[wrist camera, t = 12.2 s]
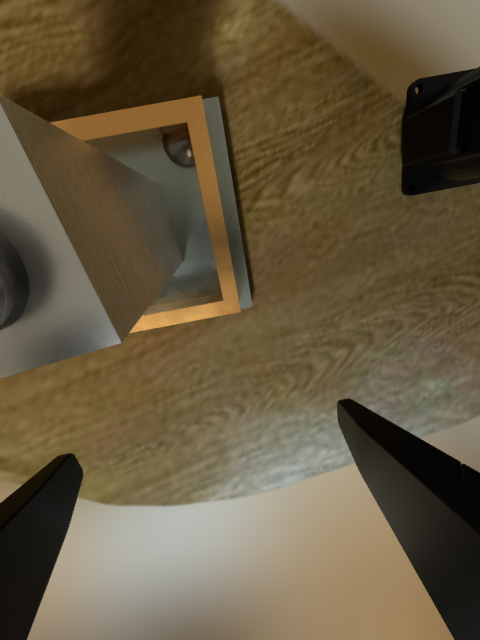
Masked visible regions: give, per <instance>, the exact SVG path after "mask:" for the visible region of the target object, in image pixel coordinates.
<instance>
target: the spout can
mask: <svg viewBox="0 0 480 640" xmlns="http://www.w3.org/2000/svg"><path fill="white" fill-rule="evenodd" d="M183 261H184V258H183V256H182V253H181V250H180V247H179V244H178V242H177V239H176V236H175V233H174V230H173V228H172V225H171V222H170V219H169V216H168V214H167V211H166V208H165V205H164V202H163V199H162V197H161V194H160V191H159V188H158V185H157V183H156V182H155V181H153V180H151V179H149V178H148V177H146V176H144V175H142V174H140V173H139V172H137V171H135V170H133V169H132V168H130V167H128V166H126V165H124V164H123V163H121V162H119V161H117V160H115V159H114V158H112V157H110V156H108V155H107V154H105V153H103V152H101V151H99V150H98V149H96V148H94V147H92V146H91V145H89V144H87V143H85V142H83V141H82V140H80V139H78V138H76V137H74V136H73V135H71V134H69V133H67V132H66V131H64V130H62V129H60V128H58V127H57V126H55V125H53V124H51V123H50V122H48V121H46V120H44V119H42V118H41V117H39V116H37V115H35V114H33V113H32V112H30V111H28V110H26V109H25V108H23V107H21V106H19V105H17V104H16V103H14V102H12V101H10V100H8V99H7V98H5V97H3V96H1V95H0V378H3V377H6V376H10V375H13V374H17V373H20V372H24V371H27V370H30V369H34V368H37V367H41V366H44V365H48V364H51V363H54V362H58V361H61V360H65V359H68V358H72V357H75V356H78V355H82V354H85V353H89V352H92V351H96V350H99V349H103V348H106V347H109V346H113V345H116V344H120V343H122V342H123V340H124V339H125V338H126V336H127V335H128V334H129V332H130V331H131V330H132V328H133V327H134V326H135V324H136V323H137V322H138V321H139V319H140V318H141V317H142V315H143V314H144V313H145V311H146V310H147V309H148V307H149V306H150V305H151V303H152V302H153V301H154V299H155V298H156V297H157V295H158V294H159V293H160V291H161V290H162V289H163V287H164V286H165V285H166V283H167V282H168V281H169V279H170V278H171V277H172V276H173V274H174V273H175V272H176V270H177V269H178V268H179V266H180V265H181V264H182V262H183Z"/></svg>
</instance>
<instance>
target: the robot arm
mask: <svg viewBox="0 0 480 640" xmlns="http://www.w3.org/2000/svg"><path fill="white" fill-rule="evenodd" d="M415 87H417V88H418V90H419V91H418V94H416V92H415ZM402 164H403V174H402V193H403V194H404V195H405V196H410V195H416V194H422V193H427V192H433V191H438V190H443V189H449V188H454V187H460V186H465V185H470V184H476V183H480V67H478V68H476V69H471V70H466V71H460V72H454V73H449V74H443V75H437V76H432V77H427V78H421V79H418V80H416V81H415V82H413V83H412V84H411V85H410V86H409V88H408V90H407V98H406V117H405V121H404V134H403V154H402ZM410 185H412V190H411V191H410V190H409V186H410ZM337 414H338V423H339V426H340V429H341V431H342V433H343V435H344V438H345V440H346V442H347V445H348V447H349V449H350V451H351V454H352V456H353V458H354V461H355V463H356V465H357V467H358V469H359V471H360V473H361V475H362V477H363V479H364V480H365V482H366V484H367V486H368V488H369V489H370V491H371V493H372V495H373V497H374V498H375V500H376V502H377V504H378V505H379V507H380V509H381V511H382V512H383V514H384V516H385V518H386V520H387V521H388V523H389V525H390V526H391V528H392V530H393V532H394V534H395V535H396V537H397V539H398V541H399V543H400V544H401V546H402V548H403V550H404V551H405V553H406V555H407V557H408V558H409V560H410V562H411V564H412V566H413V567H414V569H415V571H416V573H417V574H418V576H419V578H420V580H421V581H422V583H423V585H424V586H425V588H426V590H427V592H428V594H429V596H430V597H431V599H432V601H433V603H434V604H435V606H436V608H437V609H438V611H439V613H440V615H441V617H442V618H443V620H444V622H445V624H446V626H447V627H448V629H449V631H450V632H451V634H452V636H453V637H454V640H480V473H479V472H478V471H476V470H474V469H472V468H470V467H469V466H467V465H465V464H461V462H460V461H458V460H456V459H455V458H453V457H451V456H449V455H448V454H446V453H444V452H442V451H441V450H439V449H437V448H435V447H434V446H432V445H430V444H429V443H426V442H425V441H423V440H422V439H420V438H418V437H416V436H415V435H413V434H411V433H409V432H408V431H406V430H404V429H402V428H401V427H399V426H397V425H395V424H394V423H392V422H390V421H388V420H387V419H385V418H383V417H381V416H380V415H378V414H376V413H374V412H373V411H371V410H369V409H368V408H366V407H364V406H362V405H361V404H359V403H357V402H355V401H354V400H352V399H343V400H339V401H338V402H337ZM82 479H83V470H82V468H81V466H80V464H79V462H78V460H77V459H76V457H75V455H74V454H72V453H68V454H63V455H59V456H57V457H56V458H55V459H54V460H52V461H51V462H50V463H49V464H48V465H46V466H45V467H44V468H43V469H41V470H40V471H39V472H38V473H37V474H35V475H34V476H33V477H32V478H30V479H29V480H28V481H27V482H26V483H24V484H23V485H22V486H21V487H20V488H18V489H17V490H16V491H15V492H14V493H12V494H11V495H10V496H9V497H7V498H6V499H5V500H4V501H3V502H1V503H0V640H27V638H28V635H29V632H30V630H31V627H32V624H33V622H34V619H35V616H36V614H37V611H38V608H39V606H40V603H41V600H42V598H43V595H44V592H45V590H46V587H47V585H48V582H49V579H50V577H51V574H52V571H53V568H54V566H55V563H56V561H57V558H58V555H59V553H60V550H61V547H62V545H63V542H64V539H65V536H66V534H67V531H68V528H69V524H70V521H71V518H72V514H73V511H74V507H75V504H76V500H77V497H78V493H79V490H80V486H81V482H82Z"/></svg>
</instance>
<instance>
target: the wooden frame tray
mask: <svg viewBox="0 0 480 640" xmlns="http://www.w3.org/2000/svg"><path fill="white" fill-rule="evenodd" d="M50 123H51V124H53V125H55V126H57V127H58V128H60V129H62V130H64V131H66V132H67V133H69V134H71V135H73V136H74V137H76V138H78V139H80V140H82V141H83V142H85V143H87V144H89V145H91V146H92V147H94V148H96V149H98V150H99V151H101V152H103V153H105V154H107V155H108V156H110V157H112V158H114V159H115V160H117V161H119V162H121V163H123V164H124V165H126V166H128V167H130V168H132V169H133V170H135V171H137V172H139V173H140V174H142V175H144V176H146V177H148V178H149V179H151V180H153V181H155V182H156V183H157V185H158V188H159V191H160V194H161V197H162V199H163V202H164V205H165V208H166V211H167V214H168V216H169V219H170V222H171V225H172V228H173V230H174V233H175V236H176V239H177V242H178V244H179V247H180V250H181V253H182V256H183V258H184V261H183V262H182V264H181V265H180V266H179V268H178V269H177V270H176V272H175V273H174V274H173V276H172V277H171V278H170V279H169V281H168V282H167V283H166V285H165V286H164V287H163V289H162V290H161V291H160V293H159V294H158V295H157V297H156V298H155V299H154V301H153V302H152V303H151V305H150V306H149V307H148V309H147V310H146V311H145V313H144V314H143V315H142V317H141V318H140V319H139V321H138V322H137V323H136V324H135V326H134V327H133V328H132V330H131V331H130V332H129V333H131V332H137V331H142V330H147V329H153V328H158V327H163V326H168V325H174V324H179V323H184V322H190V321H195V320H200V319H205V318H211V317H216V316H221V315H227V314H232V313H237V312H241V310H240V309H243V308H248V307H253V306H252V299H251V293H250V287H249V281H248V275H247V269H246V262H245V256H244V250H243V244H242V238H241V232H240V225H239V219H238V213H237V207H236V201H235V195H234V188H233V182H232V176H231V170H230V164H229V158H228V151H227V145H226V139H225V133H224V127H223V120H222V114H221V108H220V102H219V96H218V97H212V98H207V99H202V95H201V96H195V97H189V98H184V99H178V100H173V101H167V102H162V103H156V104H150V105H145V106H139V107H134V108H128V109H122V110H117V111H111V112H106V113H100V114H95V115H89V116H83V117H78V118H72V119H67V120H61V121H55V122H50Z"/></svg>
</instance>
